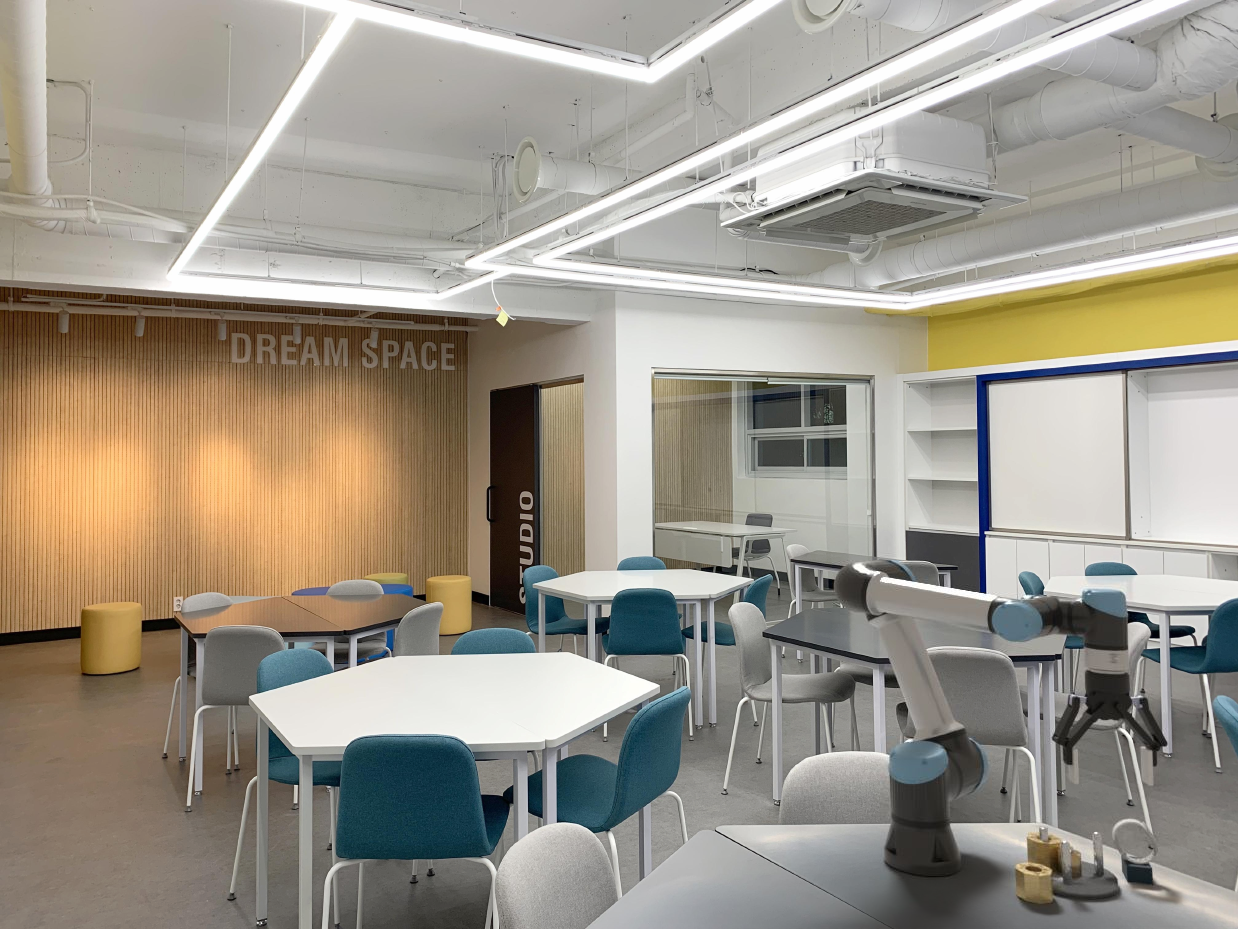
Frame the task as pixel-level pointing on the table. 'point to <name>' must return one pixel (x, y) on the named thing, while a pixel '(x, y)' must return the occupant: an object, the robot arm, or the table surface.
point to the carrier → (1081, 872)
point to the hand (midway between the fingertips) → (1110, 782)
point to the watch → (1137, 866)
